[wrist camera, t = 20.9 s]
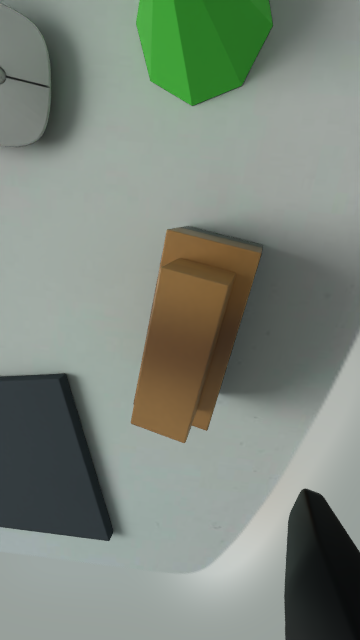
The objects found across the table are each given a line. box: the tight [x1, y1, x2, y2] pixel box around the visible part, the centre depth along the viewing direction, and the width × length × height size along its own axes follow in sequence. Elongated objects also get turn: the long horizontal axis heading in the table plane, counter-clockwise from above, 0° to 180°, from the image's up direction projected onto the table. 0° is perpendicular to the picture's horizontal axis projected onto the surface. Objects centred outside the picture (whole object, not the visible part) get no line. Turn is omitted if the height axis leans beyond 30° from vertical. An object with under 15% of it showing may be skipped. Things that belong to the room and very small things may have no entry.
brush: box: [131, 226, 263, 443], centre depth 15 cm, size 9×4×6 cm, turn 168°
